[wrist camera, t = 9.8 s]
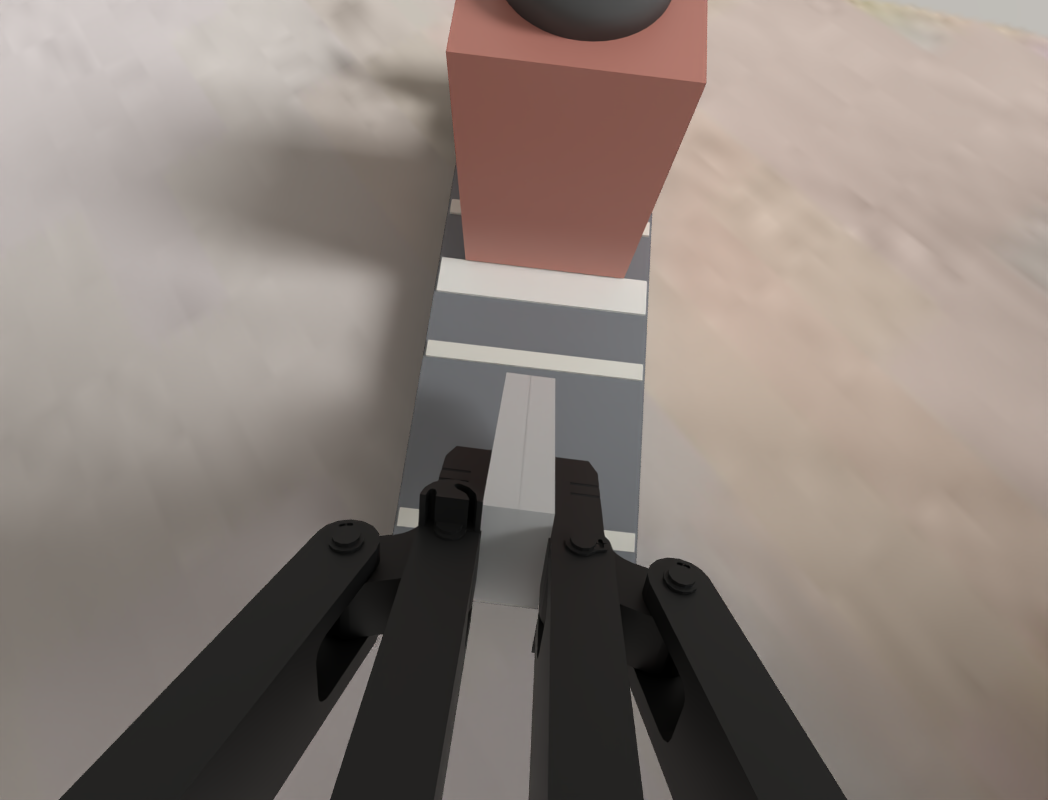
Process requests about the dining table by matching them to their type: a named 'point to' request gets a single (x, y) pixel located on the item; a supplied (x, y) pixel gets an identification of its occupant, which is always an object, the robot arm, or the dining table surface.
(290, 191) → the dining table surface
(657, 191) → the plug
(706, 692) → the robot arm
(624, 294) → the track
